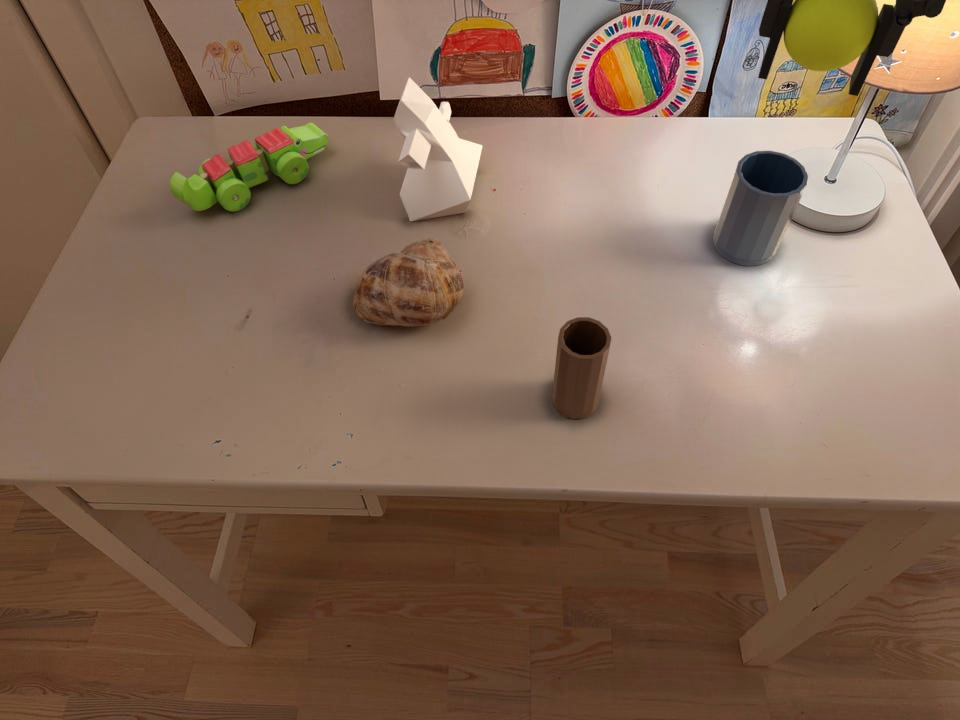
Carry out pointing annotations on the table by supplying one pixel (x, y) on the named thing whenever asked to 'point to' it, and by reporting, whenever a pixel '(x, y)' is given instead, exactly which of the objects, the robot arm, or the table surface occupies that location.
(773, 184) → the cup
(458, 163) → the white angular sculpture
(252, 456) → the table surface
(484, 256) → the table surface
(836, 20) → the ball
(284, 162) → the toy crocodile
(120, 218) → the table surface
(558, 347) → the stand
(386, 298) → the seashell
